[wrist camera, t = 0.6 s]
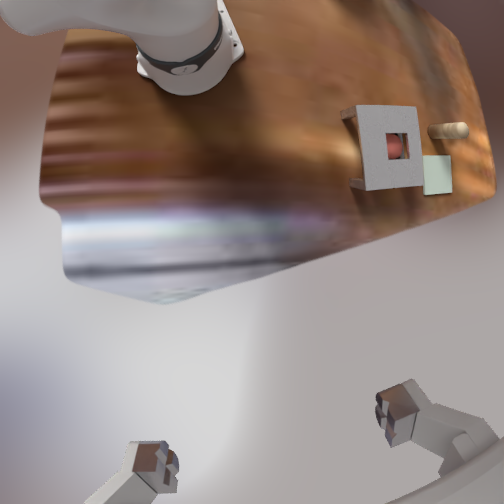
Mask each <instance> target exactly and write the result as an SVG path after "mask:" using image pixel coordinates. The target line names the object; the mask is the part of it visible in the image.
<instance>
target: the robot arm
mask: <svg viewBox="0 0 504 504" xmlns="http://www.w3.org/2000/svg"><path fill="white" fill-rule="evenodd" d="M0 15H1V17H2V18H3V19H4V21H5V22H6V23H7V24H8V25H9V26H10V27H11V28H13V29H14V30H16V31H17V32H20V33H23V34H26V35H29V36H35V35H40V34H44V33H48V32H53V31H58V30H65V29H98V30H105V31H111V32H116V33H120V34H124V35H127V36H129V37H130V38H131V39H132V40H133V41H134V42H135V43H136V47H137V48H138V51H139V53H138V55H137V60H138V66H137V71H138V73H139V74H140V75H142V76H144V77H147V78H150V79H152V80H154V81H155V82H156V83H157V84H158V85H159V86H160V87H161V88H162V89H164V90H166V91H168V92H170V93H173V94H177V95H194V94H199V93H202V92H204V91H207V90H209V89H210V88H212V87H214V86H215V85H216V84H218V83H219V82H220V81H221V80H222V79H223V77H224V76H225V75H226V73H227V71H228V69H229V68H230V66H231V65H232V63H234V62H235V61H236V60H238V59H239V58H240V57H241V56H242V55H243V54H244V49H243V46H242V44H241V41H240V39H239V37H238V34H237V32H236V30H235V27H234V25H233V23H232V20H231V18H230V16H229V14H228V11H227V9H226V7H225V5H224V3H223V0H0ZM234 44H236V45H237V46H236V47H234ZM376 401H377V403H378V404H377V406H376V407H375V413H376V418H377V420H378V423H379V425H380V427H381V428H382V429H385V437H386V439H387V441H388V443H389V445H390V447H391V448H392V447H394V446H397V445H399V444H402V443H404V442H407V441H409V440H411V441H412V442H414V443H416V444H418V445H420V446H422V447H423V448H425V449H427V450H429V451H431V452H433V453H435V454H437V455H439V456H441V457H443V458H444V461H443V463H442V465H441V467H440V469H439V471H438V473H439V475H440V477H441V478H439V479H437V480H435V481H433V482H431V483H429V484H428V485H426V486H424V487H422V488H419V489H417V490H415V491H413V492H411V493H409V494H407V495H404V496H402V497H400V498H398V499H395V500H393V501H390V502H388V503H386V504H504V437H503V438H501V439H499V438H498V436H497V435H496V434H495V433H494V431H493V430H492V429H491V427H490V426H489V425H488V424H487V422H486V421H485V420H484V419H483V418H479V417H476V416H473V415H470V414H466V413H463V412H460V411H457V410H454V409H451V408H448V407H446V406H442V405H440V404H437V403H436V404H432V403H431V402H430V400H429V399H428V398H427V396H426V395H425V393H424V392H423V391H422V389H421V388H420V387H419V385H418V384H417V383H416V381H415V380H413V379H410V380H408V381H405V382H403V383H401V384H398V385H395V386H393V387H391V388H388V389H386V390H383V391H381V392H378V393H377V394H376ZM168 448H169V445H168V444H167V442H166V441H135V442H134V441H131V442H129V444H128V446H127V449H126V452H125V456H124V460H123V463H122V467H121V471H120V472H117V473H116V474H114V475H113V476H112V477H111V478H110V479H109V480H108V481H107V482H106V483H105V484H104V485H103V486H101V487H100V488H99V489H98V490H97V491H96V492H95V493H94V494H93V495H91V496H90V497H89V498H88V499H87V500H86V501H85V502H84V504H151V503H152V502H153V500H154V499H155V498H156V496H157V494H158V493H176V492H177V482H178V480H177V479H176V477H175V475H176V474H177V473H178V472H179V462H178V458H177V456H176V454H175V453H174V451H172V450H170V449H168Z"/></svg>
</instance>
